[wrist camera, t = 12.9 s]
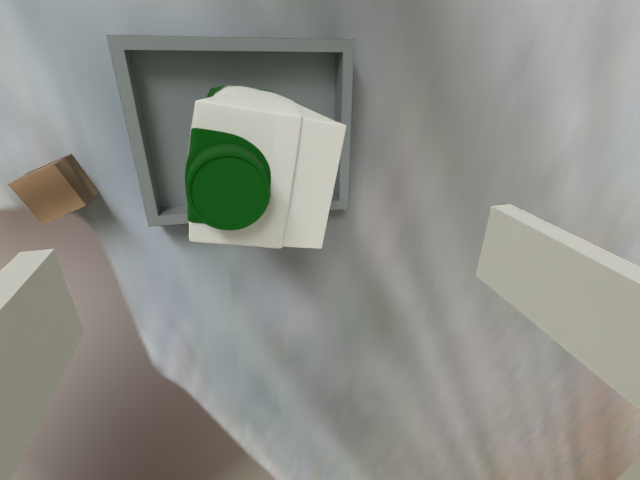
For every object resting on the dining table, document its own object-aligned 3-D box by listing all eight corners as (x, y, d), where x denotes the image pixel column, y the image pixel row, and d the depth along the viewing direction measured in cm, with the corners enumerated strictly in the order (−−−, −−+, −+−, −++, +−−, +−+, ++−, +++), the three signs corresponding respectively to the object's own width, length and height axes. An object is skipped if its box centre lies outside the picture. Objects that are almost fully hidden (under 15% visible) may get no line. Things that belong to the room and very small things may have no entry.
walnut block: (30, 171, 33) (7, 184, 29) (71, 153, 33) (54, 164, 30) (60, 208, 35) (43, 224, 31) (99, 191, 35) (86, 205, 32)
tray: (116, 37, 30) (106, 35, 28) (343, 41, 35) (354, 39, 32) (153, 215, 37) (148, 226, 35) (339, 199, 42) (348, 208, 39)
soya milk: (200, 75, 32) (179, 85, 15) (298, 94, 35) (377, 120, 18) (195, 171, 36) (173, 270, 18) (285, 181, 38) (341, 276, 21)
